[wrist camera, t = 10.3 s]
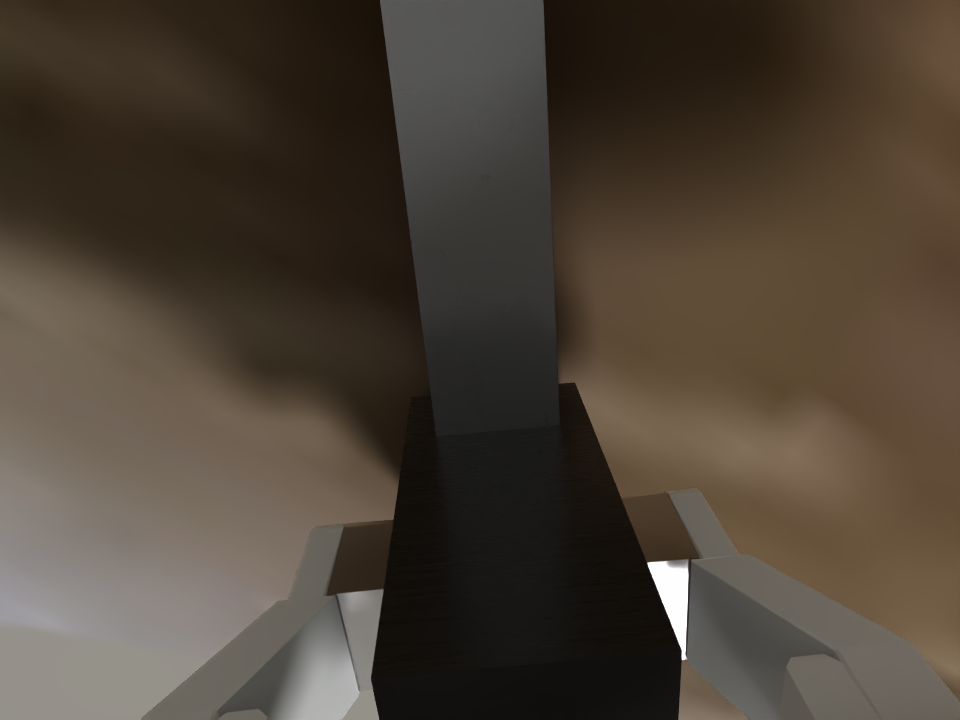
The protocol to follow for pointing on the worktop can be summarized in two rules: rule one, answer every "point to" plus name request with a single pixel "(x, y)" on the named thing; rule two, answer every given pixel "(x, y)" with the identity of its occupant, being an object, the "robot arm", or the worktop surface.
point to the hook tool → (500, 415)
